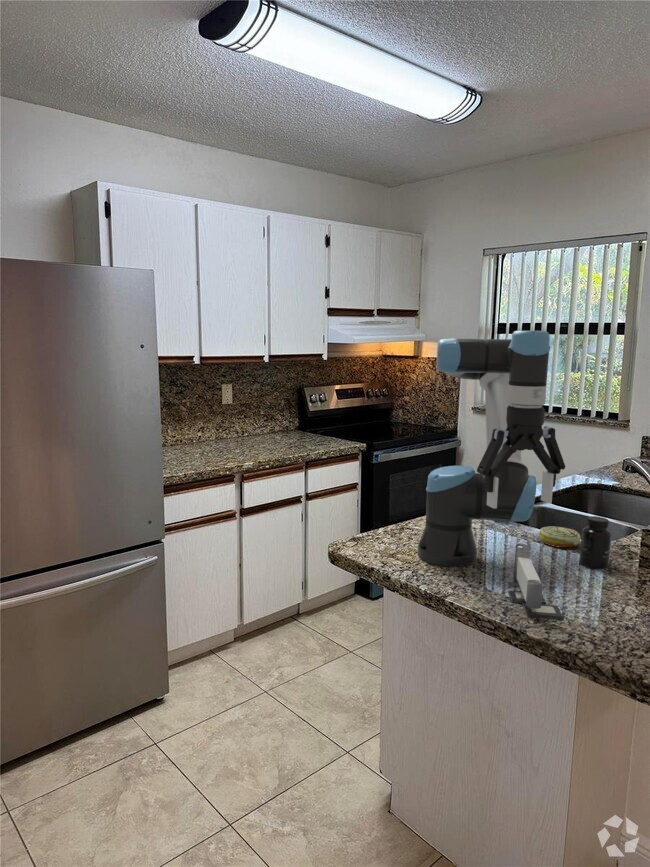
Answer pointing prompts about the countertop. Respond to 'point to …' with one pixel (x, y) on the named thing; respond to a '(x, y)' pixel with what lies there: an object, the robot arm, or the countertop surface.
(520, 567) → the swing bar
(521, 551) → the pivot post
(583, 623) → the countertop surface
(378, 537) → the countertop surface
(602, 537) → the supplement bottle
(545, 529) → the decorated donut
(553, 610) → the label plate
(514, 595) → the label plate
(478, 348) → the robot arm
